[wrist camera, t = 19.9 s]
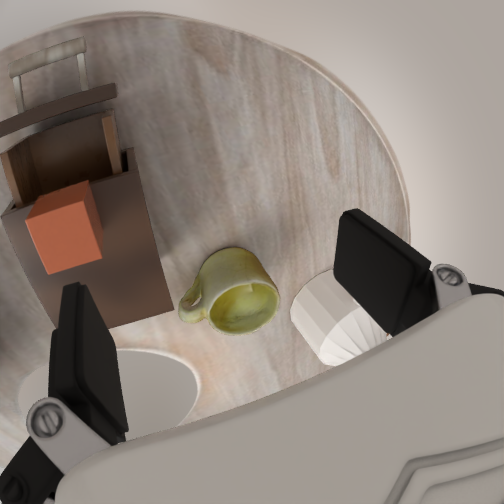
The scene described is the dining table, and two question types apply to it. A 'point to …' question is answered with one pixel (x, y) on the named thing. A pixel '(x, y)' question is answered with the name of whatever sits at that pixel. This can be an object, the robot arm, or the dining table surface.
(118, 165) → the drawer
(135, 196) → the cabinet
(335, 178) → the dining table surface
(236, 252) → the mug
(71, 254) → the block
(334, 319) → the decorative object
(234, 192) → the dining table surface
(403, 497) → the robot arm
